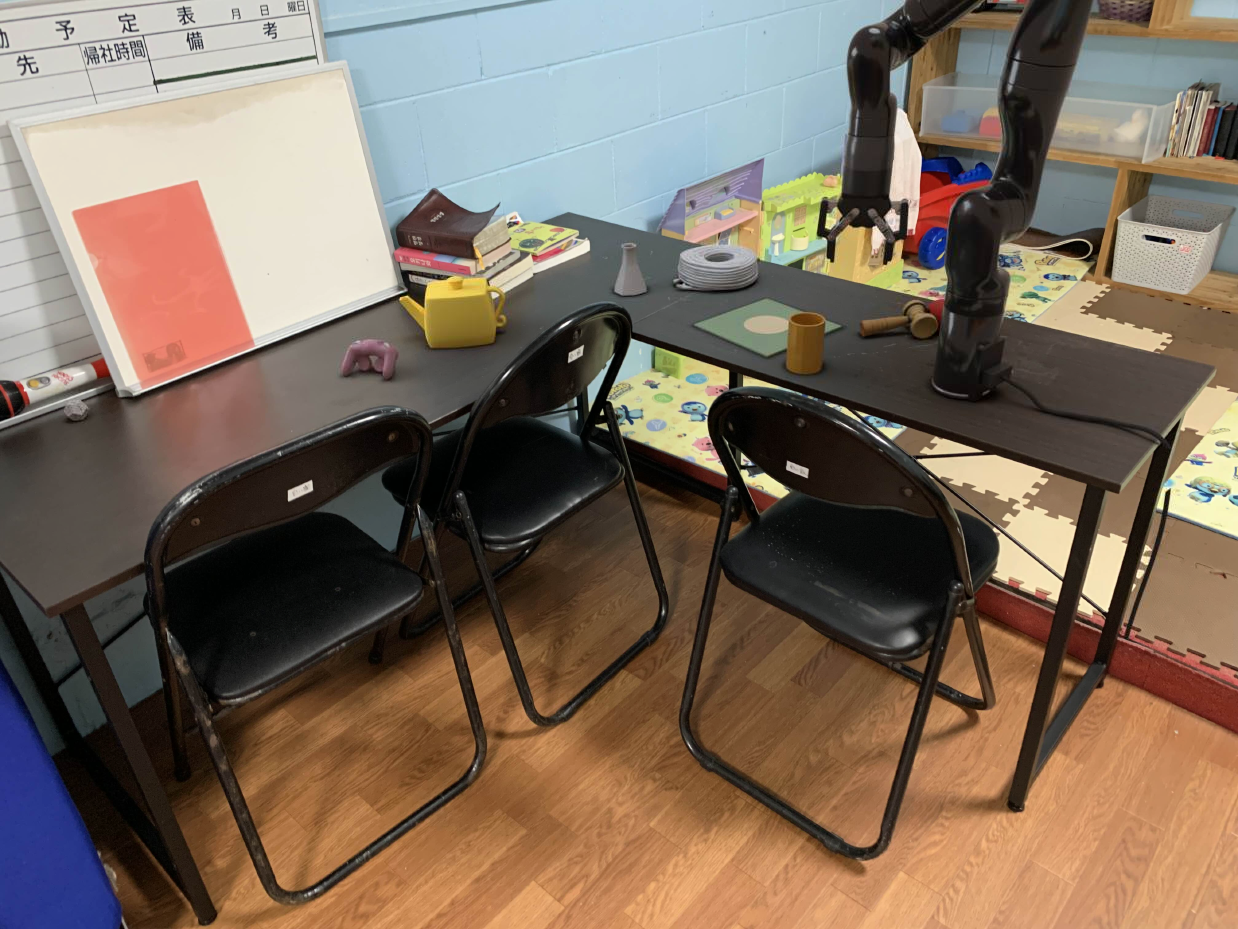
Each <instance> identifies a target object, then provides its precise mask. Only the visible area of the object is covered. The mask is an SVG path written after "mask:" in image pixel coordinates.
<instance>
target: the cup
mask: <svg viewBox="0 0 1238 929" xmlns="http://www.w3.org/2000/svg"><path fill="white" fill-rule="evenodd" d="M826 320H827V319H826V317H824V315H822V314H819V313H816V312H811V311H808V312H805V311H802V313H796V314H793V315H791V316H790V317H789V320H788V338H787V350H786V357H785V368H786V369H787V370H788V371H790V372H791V373H794V374H798V375H813V374H816V373H818V372H820V371H821V370H822V369H823V361H824V349H825V348H824V346H825V335H826V334H825V322H826Z"/></svg>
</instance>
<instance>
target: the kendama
mask: <svg viewBox="0 0 1238 929" xmlns="http://www.w3.org/2000/svg"><path fill="white" fill-rule="evenodd" d="M944 300H945V298H944V299H943V298H941V299H940V298H939V299H936V300H934V301H931V302H930V303H929V304H928V305H927V306H926V304H925V303H924V302H923V301H922V300H919V299H913V300H910V301H908V302H906V304H905V305H904V306H903V307H902V310H901V314H902V316H892V317H891V316H889V317H883V318H882V317H881V318H875V319H865V320H860V322H859V331H860V334H861V336H862V337H869V336H871V335H875V334H878V333H883V332H886V331H887V332H888V331H891V330H894V329H895V330H896V329H898V328H901V327H904V326H908V325H910V326H909V327H910V332H911V333H912V335H913V336H914V337H916V338H918V339H926V338H929V337H931V336H932V335H935V333H936V332H940V326H941V320H942V313H943V306H944Z"/></svg>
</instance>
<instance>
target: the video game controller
mask: <svg viewBox="0 0 1238 929" xmlns="http://www.w3.org/2000/svg"><path fill="white" fill-rule="evenodd" d="M372 356H373V357H377V358H376V359H375V361H374V363H373V361H372V358H371V357H372ZM398 359H399V351H398V349H397V347H396V346H394V345H392V344H390V343H388V342H386V341H383V340H379V339H373V338H372V339H371V338H370V339H362V340H356V341H353V342H352V343H351V344H350V346H349V347H348V348H347V351H346V353H345V357H344V359H343V362H342V365H341V372H342V375H343V376H344V377H347V376H349V375H351V373H352V372H353V370H354V369H355V367H356V364H358V367H359V369H360V370H361V371H369V370H371V369H372V368H374V370H375V371H376V372H380V373H382V376H383V378H384V380H389V379H391V377H392V376H393V374H394V372H395V369H396V365H397V364H396V363H397V360H398Z"/></svg>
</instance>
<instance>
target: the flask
mask: <svg viewBox="0 0 1238 929" xmlns="http://www.w3.org/2000/svg"><path fill="white" fill-rule="evenodd" d="M621 249H622V262H621V265H620V268H619V272H618V274H617V279H616V281H615V285H614V293H616V294H618V295H620V296H638V295H640V294H644V293H646V292H648V291H647V284H646V282H645V279H644V277H643V275H642V272H641V269H640V266H639V264H638V260H637V256H636V249H637V244H636V243H633V242H626V243H622V244H621Z"/></svg>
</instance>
